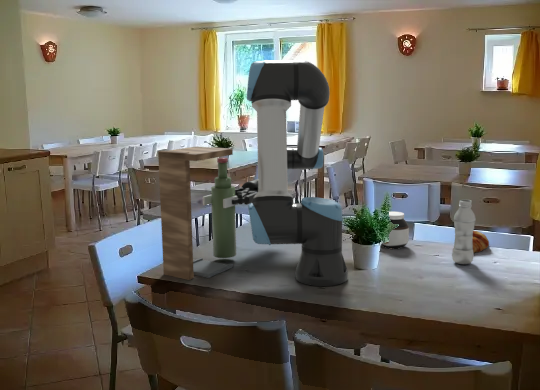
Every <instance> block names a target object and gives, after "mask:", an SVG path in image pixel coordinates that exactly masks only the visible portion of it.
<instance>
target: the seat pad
mask: <svg viewBox="0 0 540 390" xmlns="http://www.w3.org/2000/svg"><path fill="white" fill-rule="evenodd" d="M233 267H234V264H233V263H228V264H226V263H220V262H217V261H216V262H215V261H209V260H207V259H206V260H205V259H203V258H202V257H199V258H197V259H193V272H194V276H198V277H203V278H209V279H210V278H211V277H214V276H216V275H219V274H221V273H223V272H225V271H227V270H229V269H232V268H233Z"/></svg>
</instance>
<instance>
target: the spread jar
mask: <svg viewBox="0 0 540 390" xmlns="http://www.w3.org/2000/svg"><path fill="white" fill-rule="evenodd" d="M388 212H389V217H390V220H391V222H392V223H393V224H399V226H398V227H397V228H395V229H393V230H392V231H391V232H390V234H389V239H390V241H389V242H386V243H382V244H380V245H381V246H382V247H384V248H385V247H386V248H385V249H389V248H392V249H391V250H399V249H398V248H400V249H402V248H404V247H406V245H408V244H409V239H410V227H409V224H408V222H407V221H406V219H405V213H404V212H401V211H388Z"/></svg>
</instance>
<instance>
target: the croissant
mask: <svg viewBox="0 0 540 390" xmlns="http://www.w3.org/2000/svg"><path fill="white" fill-rule="evenodd" d="M472 236H473V238H472V243H473V254H475V253H479V252H482V251H484V250H486V249H487V248H488V247H489V245H490V241H489V239H488V237H487V236H486V234H484V233H482V232H480V231H477V230H475V229H473V235H472Z"/></svg>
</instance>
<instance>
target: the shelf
mask: <svg viewBox="0 0 540 390" xmlns="http://www.w3.org/2000/svg"><path fill="white" fill-rule="evenodd" d="M233 152H234V151H233V148H228V147H227V148H226V147H225V148H224V147H213V146H212V147H209V146H192V147H191V146H190V147H185V148H177V149H170V150H169V149H168V150H158V152H157V153H158V154H157V155H158V157H157V159H158V177H159V179H158V180H159V181H158V182H159V197H160V198H159V199H160V200H159V202H160V221H161V223H160V224H161V226H160V227H161V246H162V264H163V265H162V266H163V267H162V270H163V275H165V276H170V277H173V278H179V279H183V280H187V281H188V280H189V281H190V280H192V279H195V277H194V276H195V275H194V272H193V260H194V253H193V251H194V250H193V249H194V246H193V224H192V223H193V221H192V220H193V219H192V215H193V214H192V197H191V196H192V195H191V192H192V191H191V190H192V189H191V168H190V167H191V166H190V165H191V162H190V161H193V162H197V161H198V162H200V161H205V160H209V159H210V160H211V159H215V158H223V157H227V156H233V155H234V153H233Z"/></svg>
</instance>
